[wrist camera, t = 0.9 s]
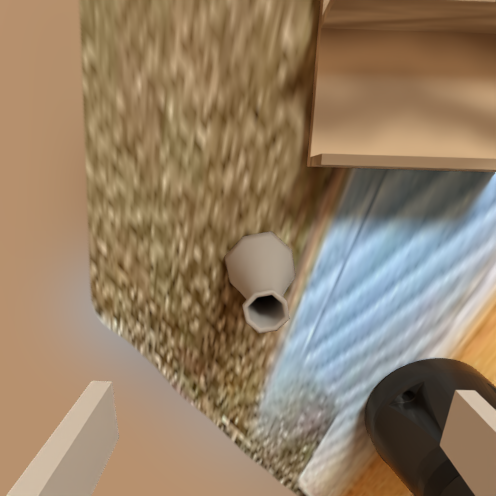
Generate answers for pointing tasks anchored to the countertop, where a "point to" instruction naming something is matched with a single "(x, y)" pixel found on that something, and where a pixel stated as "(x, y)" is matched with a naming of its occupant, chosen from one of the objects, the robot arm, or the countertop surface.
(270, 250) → the flask
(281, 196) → the countertop surface
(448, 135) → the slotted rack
